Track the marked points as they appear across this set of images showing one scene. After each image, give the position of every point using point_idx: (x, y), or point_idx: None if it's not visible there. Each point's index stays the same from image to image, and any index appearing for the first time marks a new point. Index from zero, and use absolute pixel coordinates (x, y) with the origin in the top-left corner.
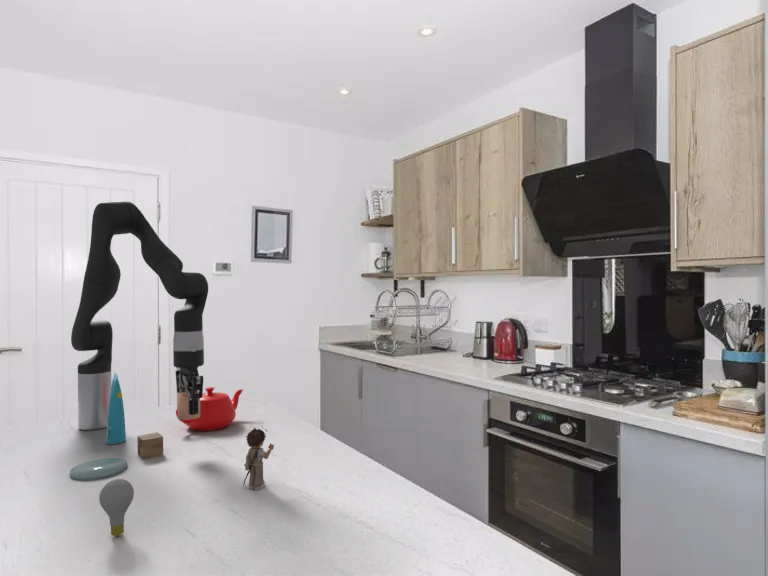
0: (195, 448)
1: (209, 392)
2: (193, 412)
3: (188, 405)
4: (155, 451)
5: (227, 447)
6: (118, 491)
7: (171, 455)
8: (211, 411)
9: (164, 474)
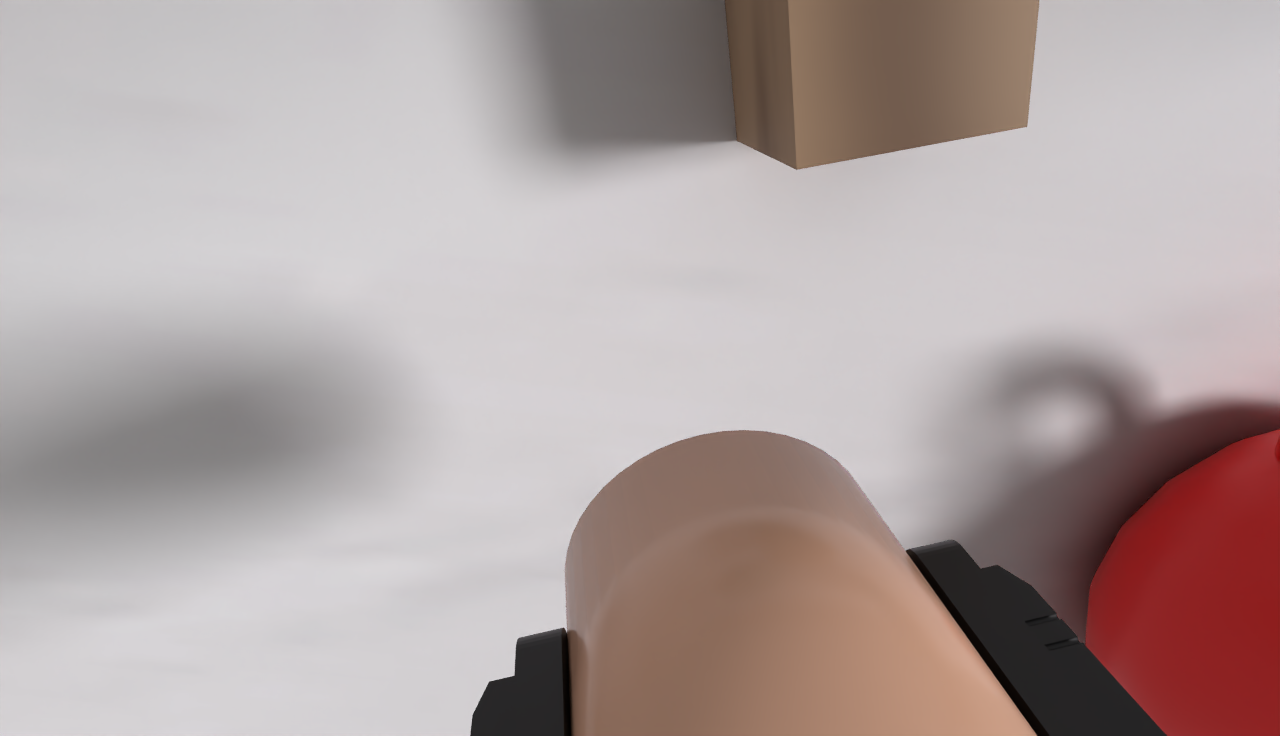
0: (758, 403)
1: None
2: (491, 703)
3: None
4: (743, 65)
5: None
6: None
7: (684, 208)
8: (1215, 673)
9: (133, 78)
